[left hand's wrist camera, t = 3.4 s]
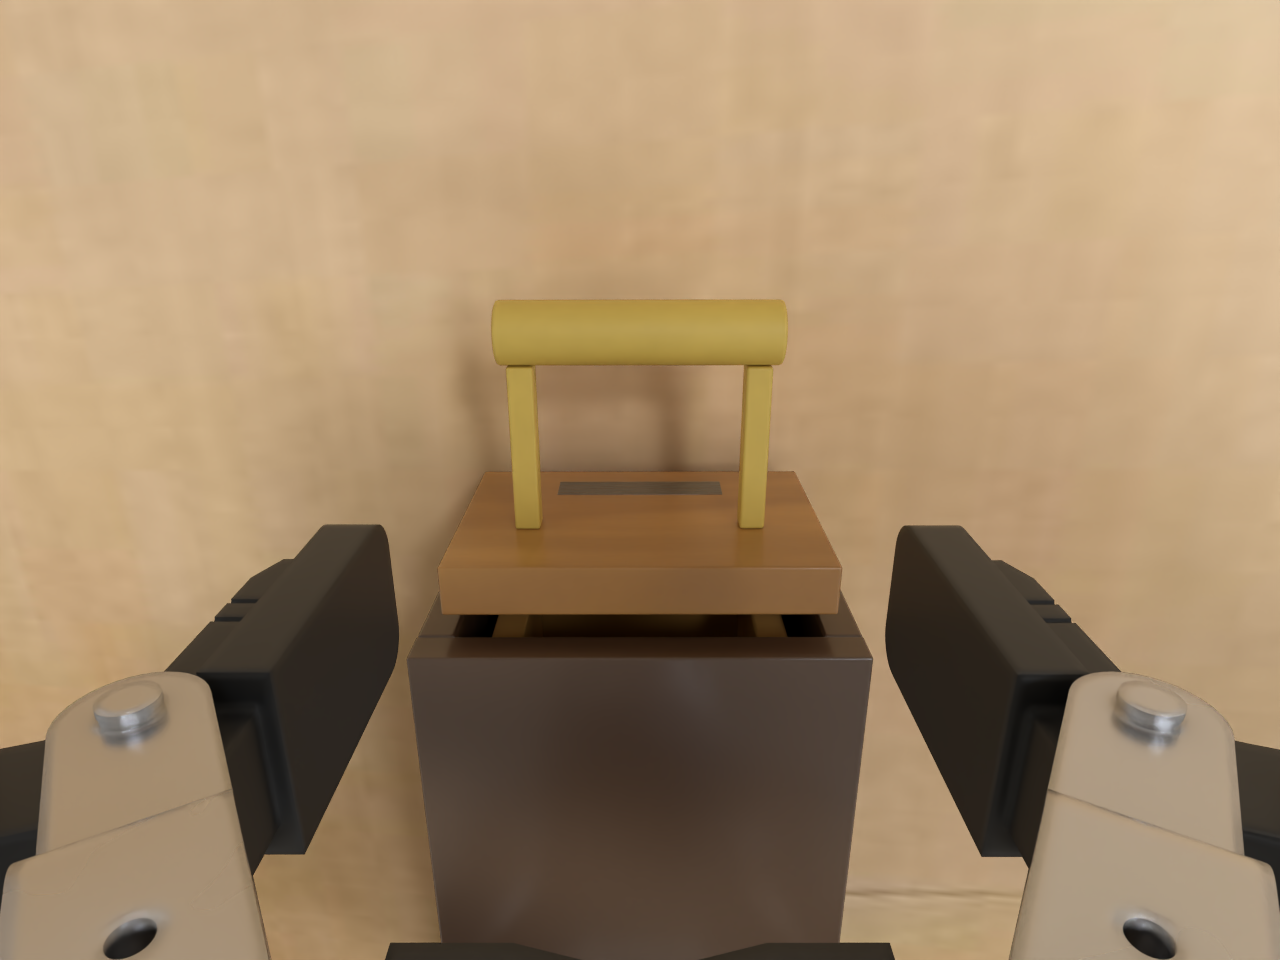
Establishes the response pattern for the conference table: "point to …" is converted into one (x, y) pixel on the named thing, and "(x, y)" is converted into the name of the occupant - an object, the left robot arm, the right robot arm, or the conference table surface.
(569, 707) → the cabinet
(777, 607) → the drawer
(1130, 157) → the conference table surface
